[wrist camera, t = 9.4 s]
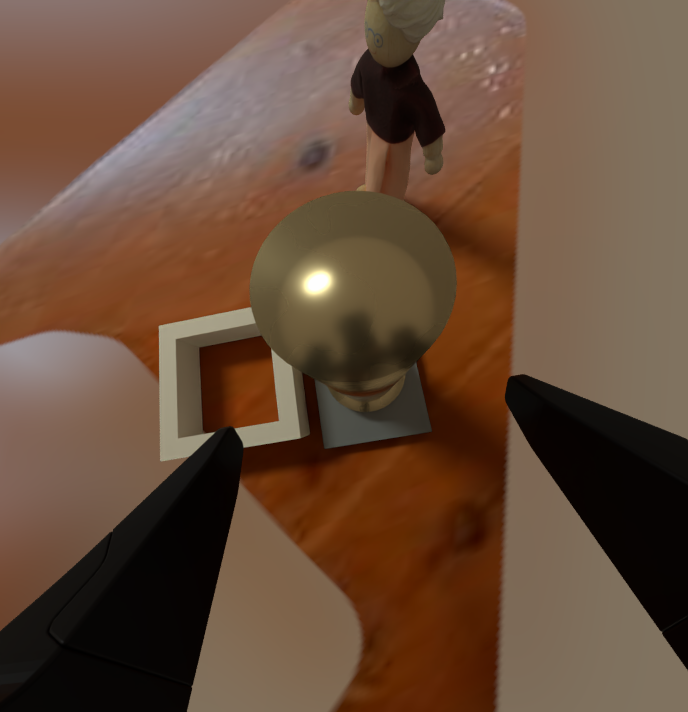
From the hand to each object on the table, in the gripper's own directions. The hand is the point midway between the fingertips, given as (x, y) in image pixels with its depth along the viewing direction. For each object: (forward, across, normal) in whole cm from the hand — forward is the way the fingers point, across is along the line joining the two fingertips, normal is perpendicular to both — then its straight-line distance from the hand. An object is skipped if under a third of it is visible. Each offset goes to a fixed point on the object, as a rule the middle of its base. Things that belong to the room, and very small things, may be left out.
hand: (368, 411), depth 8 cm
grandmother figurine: (+18, -4, -4) cm, 19 cm away
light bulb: (+8, 0, +4) cm, 9 cm away
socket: (+10, +9, +4) cm, 14 cm away
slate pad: (+9, 0, +5) cm, 10 cm away
